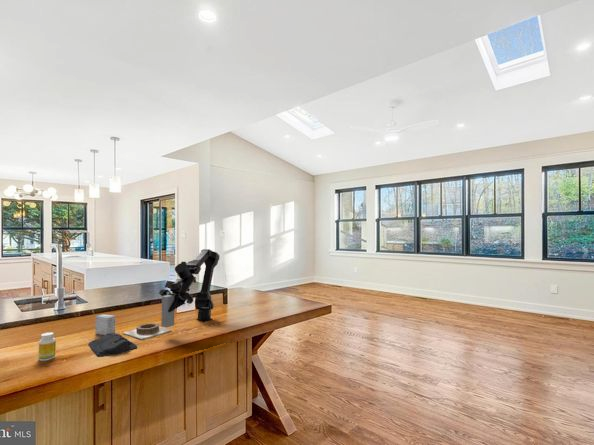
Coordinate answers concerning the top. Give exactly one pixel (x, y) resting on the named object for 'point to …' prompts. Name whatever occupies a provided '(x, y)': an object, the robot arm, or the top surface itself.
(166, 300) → the tall square grey column
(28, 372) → the top surface
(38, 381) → the top surface
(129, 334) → the ring holder
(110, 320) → the medicine box
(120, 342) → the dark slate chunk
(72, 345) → the top surface
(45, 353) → the supplement bottle
